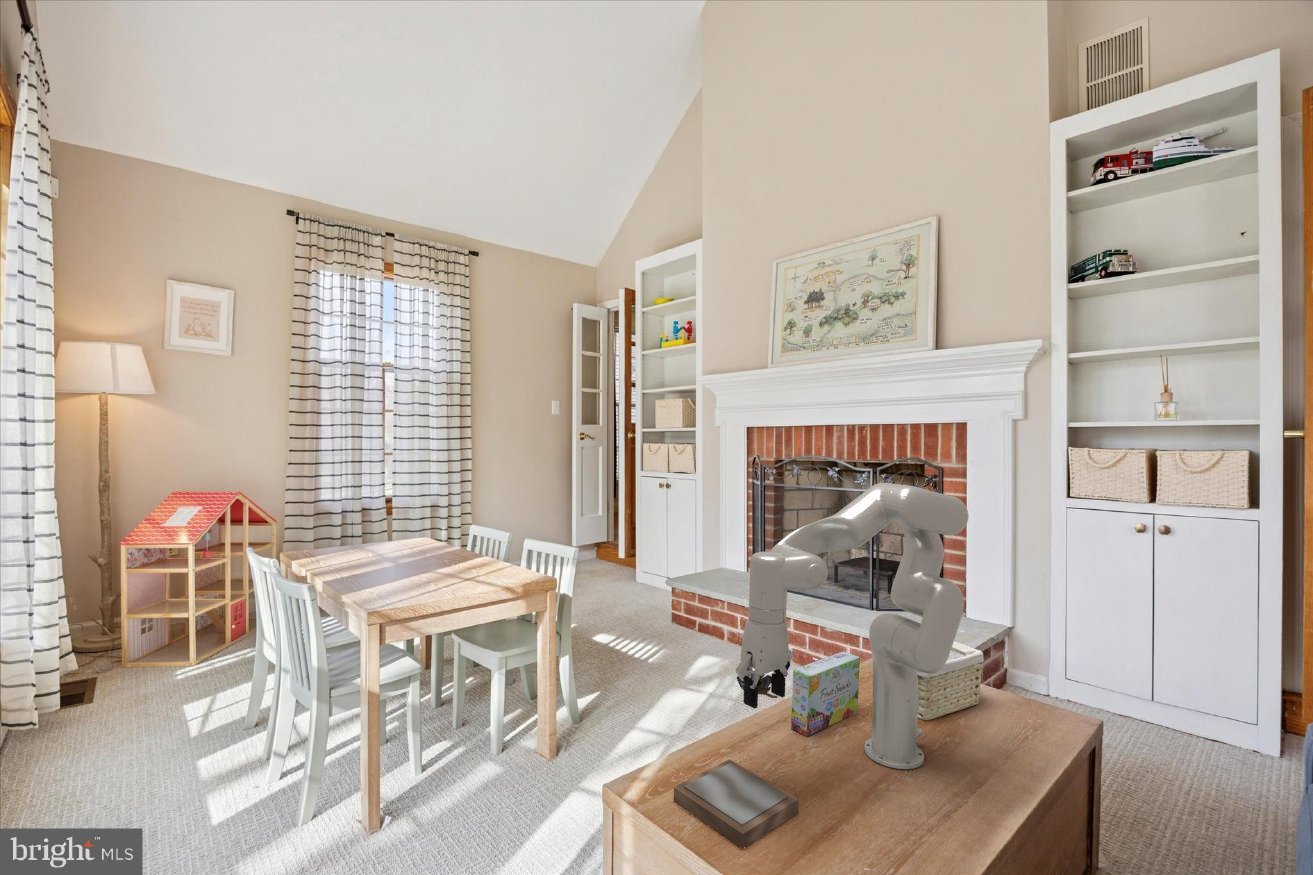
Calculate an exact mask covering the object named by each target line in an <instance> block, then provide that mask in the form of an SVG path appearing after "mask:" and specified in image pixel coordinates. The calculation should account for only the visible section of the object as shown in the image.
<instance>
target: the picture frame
mask: <svg viewBox="0 0 1313 875" xmlns="http://www.w3.org/2000/svg"><path fill="white" fill-rule="evenodd" d="M799 800H800V799H799V798H798V797H796V796H795V795H793V794H791V793H789V792H787V791H786V790H784V789H782V788H781V787H779V786H777V785H775V783H772V782H770V781H769V780H767V779H765V778H763V777H761V776H760V775H757V774H756V773H754V772H752V771H751V770H749V769H747V768H746V767H744V766H742V765H740V764H738V763H737V762H735V761H733V760H732V759H730V758H729V759H727V760H725V761H723V762H721V763H719V764H717V765H715V766H713V767H711V768H709V769H707V770H705V771H703V772H701V773H699V774H697V775H695V776H693V777H691V778H689V779H687V780H685V781H683V782H681V783H680V784H679V783H678V784H677V785H676V786H673V801H674V802H675V803H676V804H678V805H679V806H681V807H682V808H683V809H685V810H686V811H687V812H689V813H690V812H691V813H690V814H692V815H693V816H695V817H696V818H698V819H699V820H700V819H701V820H700V821H702V820H703V821H702V822H704V823H705V824H706V825H707V824H708V825H707V826H709V827H710V826H711V829H713V830H715V832H718V833H719V834H720V835H721V836H723V837H724V838H726V839H728V840H729V841H730V842H732V843H733V844H734V845H736V846H737V847H738V848H740V847H741V848H740V849H741V850H743V848H744V847H745V848H747V847H748V846H750V845H751V844H753V843H755V842H756V841H758V840H759V839H761V838H762V837H764V836H765V835H766V833H767V834H768V833H770V832H771V831H773V830H774V829H776V828H778V827H779V826H781V825H782V824H783V823H785V822H786V821H788V820H790V819H791V818H792V817H794V816H796V815H797V814H799V808H800V807H799V804H800V803H799ZM769 831H770V832H769ZM749 844H750V845H749ZM745 848H744V849H745Z"/></svg>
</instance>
